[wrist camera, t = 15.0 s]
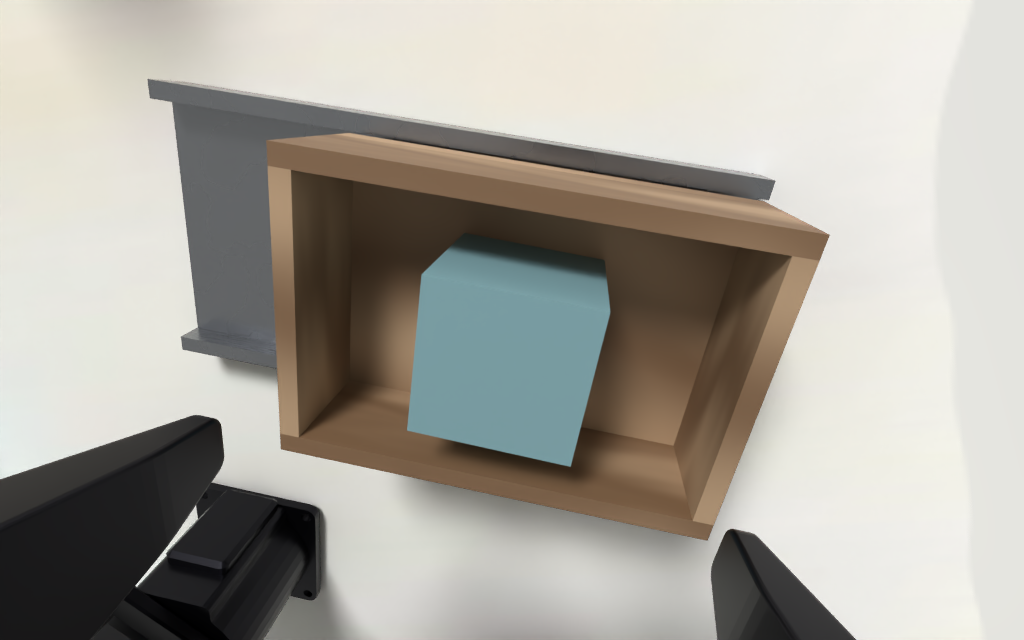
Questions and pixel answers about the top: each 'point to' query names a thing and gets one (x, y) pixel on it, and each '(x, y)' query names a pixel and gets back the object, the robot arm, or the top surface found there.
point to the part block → (508, 346)
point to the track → (256, 118)
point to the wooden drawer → (551, 225)
